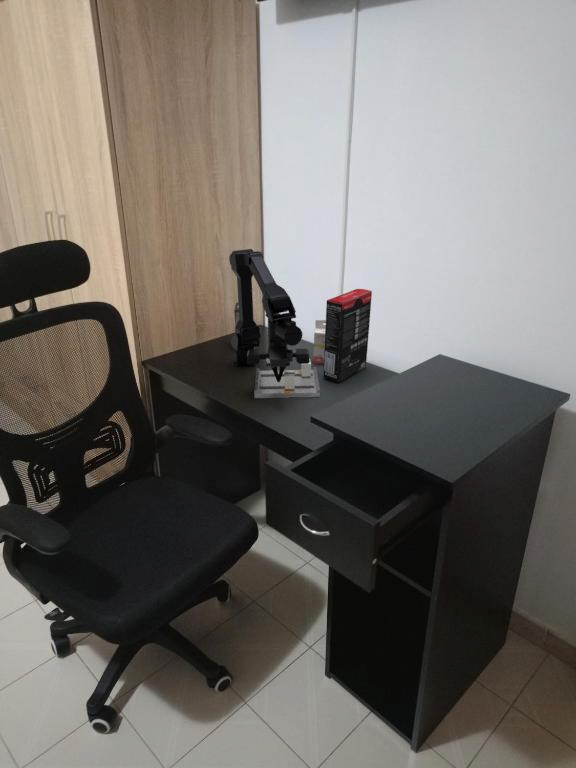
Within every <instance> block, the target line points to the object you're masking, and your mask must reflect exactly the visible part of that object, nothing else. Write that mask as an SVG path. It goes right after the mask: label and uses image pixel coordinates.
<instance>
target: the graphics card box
mask: <svg viewBox="0 0 576 768" xmlns="http://www.w3.org/2000/svg"><path fill="white" fill-rule="evenodd" d="M372 292H373V290H371V289H365V288H356V289H353V290H350V291H348V292H346V293H343V294H340V295H336V296H334V297H332V298H329V299H327V300H326V307H325V308H326V310H325V320H326V323H325V325H326V328H325V351H324V364H323V376H322V377H323V378H324V379H326V380H329V381H332V382H335V383H338V384H339V383H340V382H343V381H344V380H346V379H348V378H349V377H351V376H353V375H355V374H357V373H359V372H361V371H362V370H365V369H366V368H367V358H368V347H369V346H368V345H369V344H368V343H369V332H370V321H371V310H372V295H373V293H372Z"/></svg>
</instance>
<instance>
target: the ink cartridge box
mask: <svg viewBox="0 0 576 768" xmlns="http://www.w3.org/2000/svg"><path fill="white" fill-rule="evenodd" d="M325 328H326V319H316V320H315V328H314V335H313V365H315V364H317V365H324V351H325Z"/></svg>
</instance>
